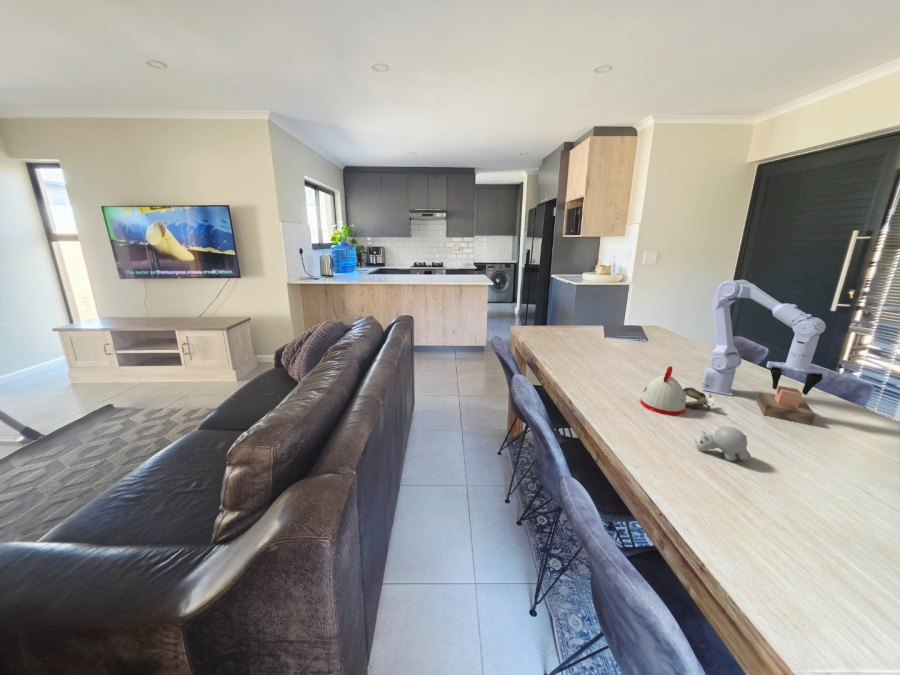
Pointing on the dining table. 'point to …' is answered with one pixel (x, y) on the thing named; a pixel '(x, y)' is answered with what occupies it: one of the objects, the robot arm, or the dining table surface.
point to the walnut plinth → (785, 410)
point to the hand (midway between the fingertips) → (789, 390)
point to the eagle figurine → (698, 398)
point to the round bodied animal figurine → (726, 443)
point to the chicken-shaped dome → (664, 395)
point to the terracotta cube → (788, 396)
